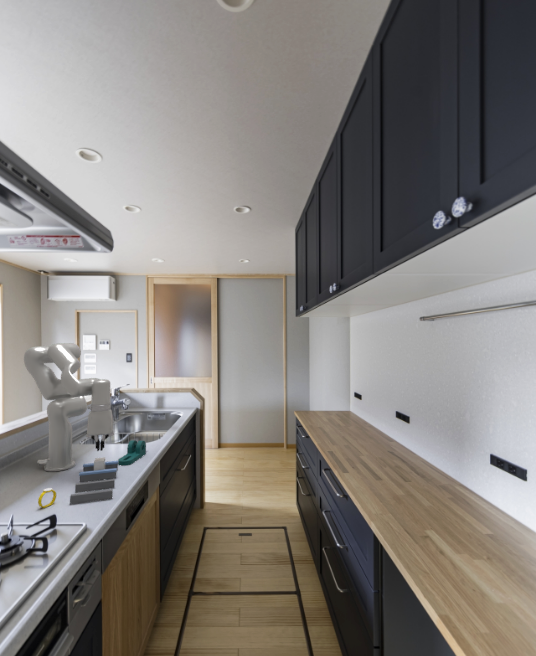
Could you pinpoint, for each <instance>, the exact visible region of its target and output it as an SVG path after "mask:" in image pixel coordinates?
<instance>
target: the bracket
mask: <svg viewBox="0 0 536 656" xmlns="http://www.w3.org/2000/svg"><path fill="white" fill-rule="evenodd" d="M126 449H127V451H126V452H127V453H126V454H125V455H123V456H121V457H120V458H118V460H117V461H118V466H120V465H121V466H120V467H125V466H131V465H132V464H134V463H135V461H136V462H137V461H139V460H140V459H141V458H143V457H144V456H145V455H146V454H147V442H146V440H138V441H137V440H133V439H131V440H129V442H128V444H127V448H126ZM143 455H144V456H143ZM142 456H143V457H142ZM139 458H140V459H139Z"/></svg>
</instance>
